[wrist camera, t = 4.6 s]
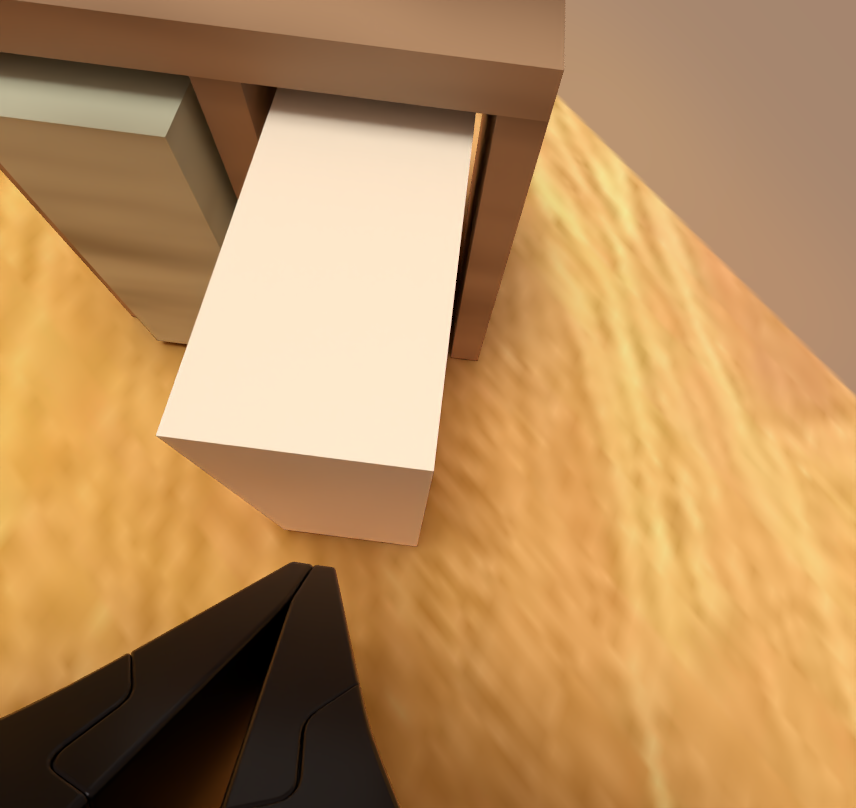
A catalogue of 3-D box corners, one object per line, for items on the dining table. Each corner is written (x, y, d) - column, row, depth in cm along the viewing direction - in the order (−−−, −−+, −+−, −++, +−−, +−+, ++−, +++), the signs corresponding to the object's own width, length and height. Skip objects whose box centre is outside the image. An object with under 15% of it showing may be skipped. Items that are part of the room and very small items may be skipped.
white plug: (416, 546, 16) (434, 471, 8) (284, 529, 16) (155, 435, 8) (454, 244, 20) (489, -7, 12) (351, 231, 21) (317, -29, 12)
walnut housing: (475, 384, 18) (562, 109, 8) (123, 339, 18) (-209, 11, 8) (492, 199, 22) (568, -153, 12) (196, 161, 22) (23, -221, 12)
